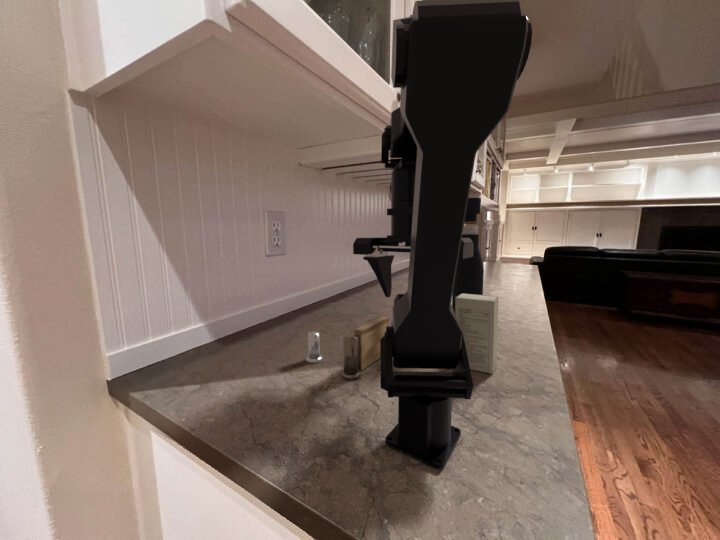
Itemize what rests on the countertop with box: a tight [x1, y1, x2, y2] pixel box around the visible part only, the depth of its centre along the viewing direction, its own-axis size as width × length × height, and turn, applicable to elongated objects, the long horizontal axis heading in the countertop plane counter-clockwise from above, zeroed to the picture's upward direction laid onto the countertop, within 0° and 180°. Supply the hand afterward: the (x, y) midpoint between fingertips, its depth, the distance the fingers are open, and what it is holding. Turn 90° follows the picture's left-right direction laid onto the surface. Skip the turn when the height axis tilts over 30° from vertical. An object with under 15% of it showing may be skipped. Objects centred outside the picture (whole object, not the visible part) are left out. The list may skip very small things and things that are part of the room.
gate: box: [354, 315, 390, 371], centre depth 52 cm, size 9×1×7 cm, turn 145°
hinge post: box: [340, 333, 362, 381], centre depth 47 cm, size 3×3×6 cm
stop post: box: [305, 330, 324, 364], centre depth 52 cm, size 3×3×5 cm
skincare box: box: [455, 293, 499, 375], centre depth 49 cm, size 6×4×12 cm
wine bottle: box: [451, 197, 485, 312], centre depth 65 cm, size 6×6×30 cm
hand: (408, 299), depth 47 cm, fingers open, 7 cm apart
